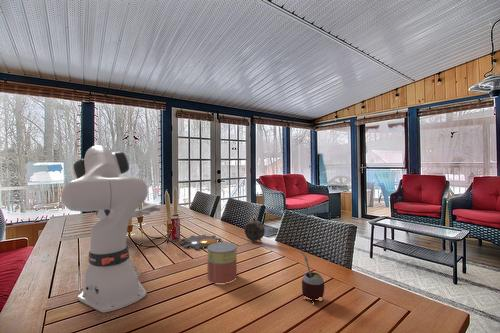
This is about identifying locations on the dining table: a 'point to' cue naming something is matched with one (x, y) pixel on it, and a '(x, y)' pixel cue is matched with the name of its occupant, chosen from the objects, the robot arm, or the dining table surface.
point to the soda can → (174, 229)
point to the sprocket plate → (199, 241)
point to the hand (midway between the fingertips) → (154, 211)
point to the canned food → (221, 262)
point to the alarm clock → (254, 230)
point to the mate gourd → (312, 283)
